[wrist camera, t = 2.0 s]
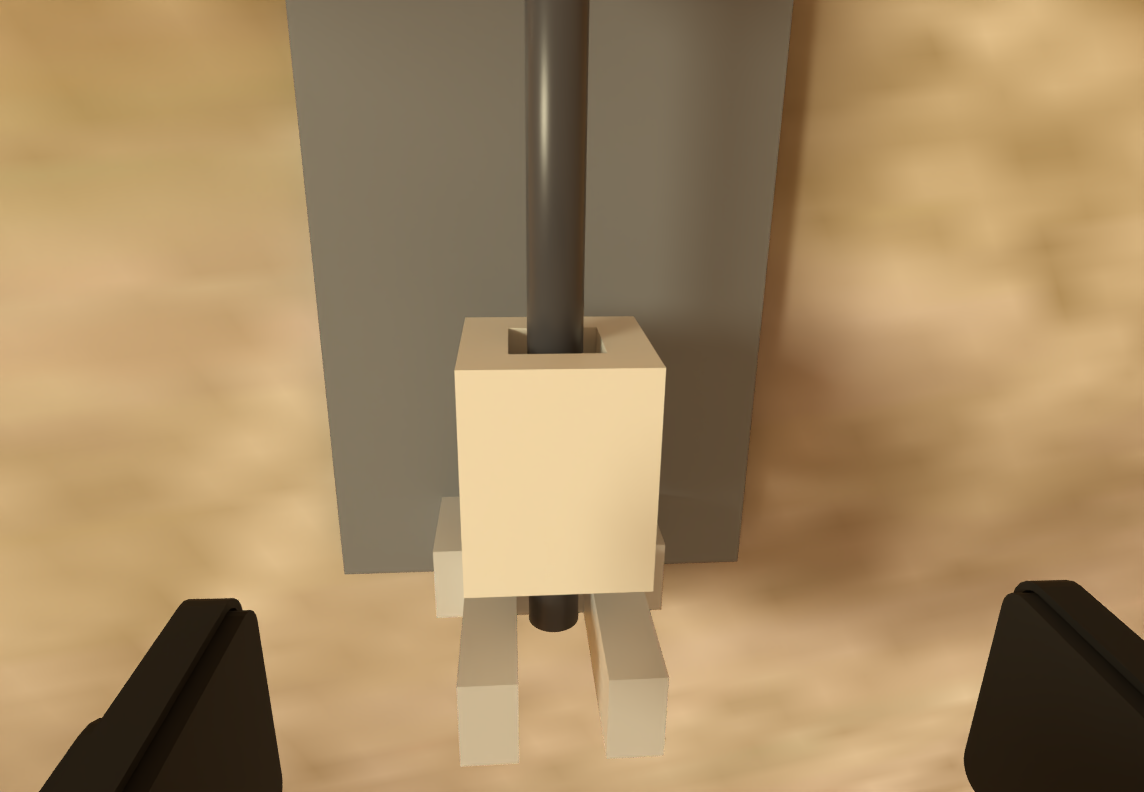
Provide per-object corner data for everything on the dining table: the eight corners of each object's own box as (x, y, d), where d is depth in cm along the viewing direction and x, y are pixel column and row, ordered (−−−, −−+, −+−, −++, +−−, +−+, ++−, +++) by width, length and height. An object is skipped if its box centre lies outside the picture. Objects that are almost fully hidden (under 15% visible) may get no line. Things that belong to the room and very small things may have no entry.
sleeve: (625, 502, 20) (653, 591, 16) (472, 506, 20) (463, 598, 16) (633, 316, 18) (666, 367, 15) (465, 317, 18) (454, 370, 14)
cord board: (728, 544, 25) (842, 764, 16) (351, 556, 24) (266, 795, 16) (820, -422, 17) (1140, -969, 8) (250, -462, 16) (-46, -1127, 7)
